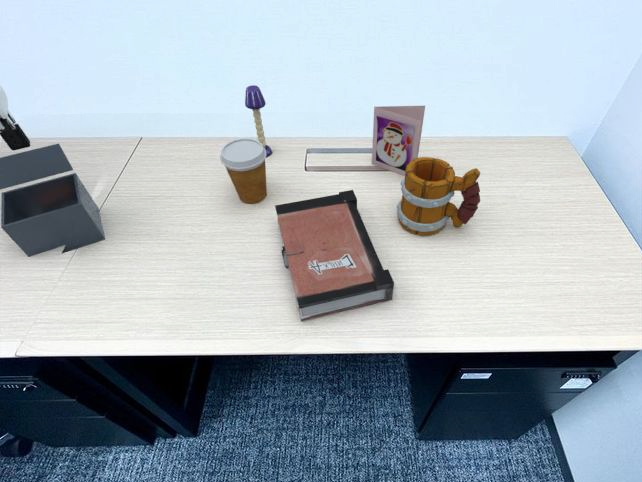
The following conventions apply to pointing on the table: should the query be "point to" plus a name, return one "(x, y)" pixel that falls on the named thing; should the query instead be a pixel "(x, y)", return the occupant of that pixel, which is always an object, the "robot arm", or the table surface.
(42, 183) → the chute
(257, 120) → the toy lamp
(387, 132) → the greeting card
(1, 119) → the robot arm
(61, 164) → the flap
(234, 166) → the disposable coffee cup
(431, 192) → the mug
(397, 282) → the table surface
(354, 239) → the book
